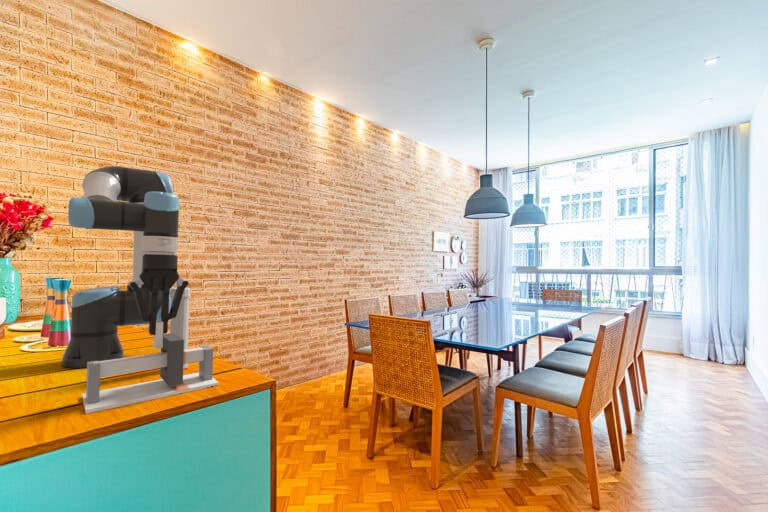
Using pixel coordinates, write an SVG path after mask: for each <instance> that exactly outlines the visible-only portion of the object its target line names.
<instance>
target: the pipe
mask: <svg viewBox="0 0 768 512" xmlns="http://www.w3.org/2000/svg"><path fill="white" fill-rule="evenodd" d="M176 289H177V287H171V288H170V297H171V305H172V302H173V299H174V295H175V292H176ZM190 297H191V288H190V287H186V288H185V289H184V292H183V295H182V299H181V302H180V305H179V309H178V312H177V316H176V317H175V318H172V319H170V323H169V324H170V327H169V328H170V329H169V330H170V331H169V334H171V333H175V334H176V335H178V336H179V337H181V338H182V339H184V349H189V347H188V346H189V316H190V315H189V310H190V309H189V308H190V306H189V305H190ZM188 367H189V363H186V364H184V365H183V370H185V369H187V368H188Z"/></svg>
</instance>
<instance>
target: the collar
mask: <svg viewBox="0 0 768 512" xmlns="http://www.w3.org/2000/svg"><path fill="white" fill-rule="evenodd" d="M163 352H167V367H161V368H159V370H160V372H159V377H160V378H161V379H163V380H164V381H165V382H166V383H167V385H168V386H174V385H179V384H183V375H184V369H183V358H184V339H182V338H181V337H179V336H178V335H176V334H175V333H171V334H170V333H166V334H163V348H160V353H163Z"/></svg>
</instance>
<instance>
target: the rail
mask: <svg viewBox="0 0 768 512" xmlns="http://www.w3.org/2000/svg"><path fill="white" fill-rule="evenodd" d="M197 362H199V363H198V372H195V373H188V374H183V384H179V385H174V386H168V385H167V383H166V382H165V381H164V380H163V379H162V378H161V379H156V380H151V381H144V382H140V383H135V384H133V383H132V384H129V385H123V386H117V387H112V388H108V389H107V388H105V389H102V390H101V389H100V388H101V387H100V386H101V381H100V380H101V378H106V377H110V376H111V377H112V376H116V375H117V376H118V375H124V374H130V373H131V374H132V373H135V372H136V373H137V372H142V371H147V370H148V371H149V370H155V369H160V368H161V367H167V352H163V353H161V352H157V353H150V354H144V355H142V354H141V355H136V356H127V357H123V358H120V359H113V360H106V361H91V362H87V367H86V383H85V384H86V388H85V393H84V392H83V393H81V399H82V402H83V409H84V413H85V415H87V414H92V413H96V412H100V411H105V410H110V409H115V408H119V407H124V406H128V405H133V404H138V403H142V402H147V401H151V400H157V399H162V398H165V397H166V398H167V397H172V396H175V395H180V393H181V394H185V393H189V392H190V393H191V392H194V391H199V390H202V389H204V390H205V389H208V388H207V387H209V388H212V387H211V386H213V387H216V386H215V385H218V386H220V384H219V383H220V382H219V381H218V380H216V379H215V378H214V376H213V374H214V373H213V370H214V368H213V367H214V348H213V347H211V346H209V345H201V346H199V347H193V348H188V349H184V358H183V365H184V364H186V363H188V364H190V363H197Z"/></svg>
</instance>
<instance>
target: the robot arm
mask: <svg viewBox="0 0 768 512" xmlns="http://www.w3.org/2000/svg"><path fill="white" fill-rule="evenodd" d="M81 184H82V185H81V186H82V190H83V196H82V197H71V198H70V199H69V202H68V207H67V208H68V209H67V210H68V212H67V215H68V216H67V217H68V218H67V219H68V224H69V226H71V228H78V229H86V230H104V231H106V230H107V231H108V230H109V231H127V232H128V231H129V232H133V245H132V246H133V250H132V251H133V255H132V256H133V258H132V260H133V261H132V280H131V281H129V282H128V283H127V285H126V290H120V288H119V285H118V286H117V285H116V286H115V285H114V286H102V287H101V286H100V287H94V288H88V289H83V290H79V291H77V292H75V293H74V294H73V295H72V297H71V306H70V309H71V317H70V318H71V320H70V321H71V322H70V339H69V342H68V344H67V347H66V349H65V351H64V352H63V355H62V359H61V365H62V367H65V368H71V369H74V368H75V369H79V368H87V362H91V361H106V360H113V359H120V358H124V349H123V345H122V343H121V341H120V337H119V336H118V330H119V327H124V326H139V325H148V334H149V335H150V336H153V338H152V339H153V340H152V341H153V342H152V343H153V344H152V345H153V348H154V349H155V350H157V349H161V348H163V334H168V331H169V330H168V328H169V325H168V324H169V321H171V319H172V318H175V317H176V316H177V312H178V309H179V305H180V302H181V299H182V295H183V292H184V289H185V288H188V285H189V281H187V280H184V279H183V278H181V277H180V274H179V272H178V258H179V257H178V256H177V255H176V253H178V251H179V250H178V249H179V248H178V247H179V246H178V244H179V217H180V216H179V215H180V210H181V209H180V201H179V200H180V199H179V198H180V197H179V196H178V195H177V194H175V193H174V191H173V184H172V180H171V177H170V176H169V175H168V174H167V173H165V172H159V171H155V170H153V171H152V170H146V169H141V168H132V167H131V168H130V167H124V166H118V165H112V166H103V167H99V168H96V169H93V170H92V171H89V172H88V173H87V174H86V175H84V178H83V180H82V183H81ZM175 284H176V288H177V289H176V292H175V295H174V299H173V302H172V305H171V297H170V289H171V288H173V286H174V285H175Z"/></svg>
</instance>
